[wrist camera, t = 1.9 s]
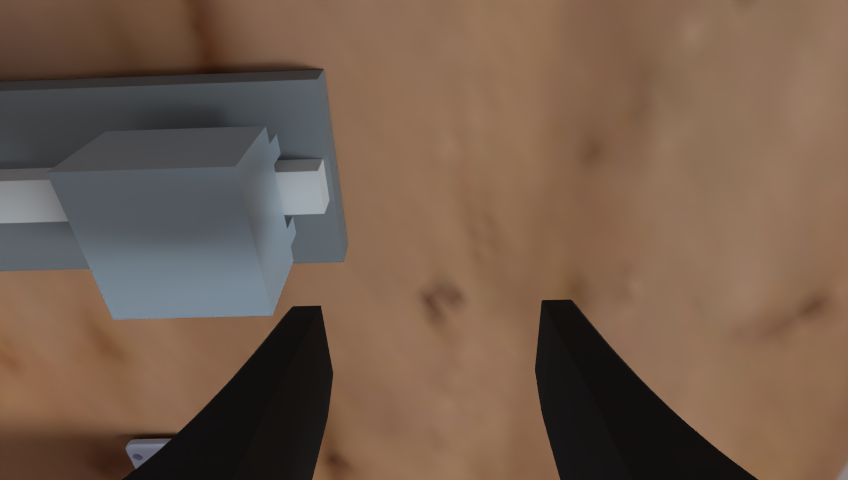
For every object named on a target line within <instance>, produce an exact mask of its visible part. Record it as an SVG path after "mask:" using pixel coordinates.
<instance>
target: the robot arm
mask: <svg viewBox="0 0 848 480" xmlns="http://www.w3.org/2000/svg"><path fill="white" fill-rule="evenodd" d="M535 373H536V379H537V386H538V393H539V399H540V405H541V411H542V415H543V419H544V423H545V427H546V430H547V434H548V437H549V441H550V445H551V448H552V452H553V455H554V459H555V462H556V466H557V469H558V473H559V476H560V480H758V479H756V478H755V477H754V476H752V475H751V474H750V473H748V472H747V471H746V470H744V469H743V468H741V467H740V466H739V465H737V464H736V463H735V462H733V461H732V460H731V459H729V458H728V457H727V456H726V455H724V454H723V453H722V452H720V451H719V450H718V449H717V448H715V447H714V446H713V445H712V444H711V443H709V442H708V441H707V440H706V439H705V438H703V437H702V436H701V435H700V434H699V433H697V432H696V431H695V430H694V429H693V428H692V427H690V426H689V425H688V424H687V423H686V422H685V421H684V420H682V419H681V418H680V417H679V416H678V415H677V414H676V413H675V412H674V411H673V410H672V409H670V408H669V407H668V406H667V405H666V404H665V403H664V402H663V401H662V400H661V399H660V398H659V397H658V396H657V395H656V394H655V393H654V392H653V391H652V390H651V389H650V388H649V387H648V386H647V385H646V384H645V383H644V382H643V381H642V380H641V379H640V378H639V377H638V376H637V375H636V374H635V373H634V372H633V371H632V369H631V368H630V367H629V366H628V365H627V364H626V363H625V362H624V361H623V360H622V359H621V358H620V356H619V355H618V354H617V353H616V352H615V351H614V350H613V349H612V348H611V346H610V345H609V344H608V343H607V342H606V341H605V339H604V338H603V337H602V336H601V335H600V334H599V332H598V331H597V330H596V329H595V328H594V326H593V325H592V324H591V323H590V322H589V320H588V319H587V318H586V317H585V315H584V314H583V313H582V312H581V310H580V309H579V308H578V307H577V305H576V304H575V303H574V302H573V301H572V300H542V304H541V315H540V325H539V335H538V345H537V355H536V365H535ZM332 380H333V370H332V364H331V359H330V354H329V348H328V343H327V337H326V332H325V326H324V321H323V315H322V310H321V306H293V307H292V308H291V309H290V310H289V311H288V312H287V313H286V315H285V316H284V317H283V318H282V319H281V321H280V322H279V323H278V324H277V326H276V327H275V328H274V329H273V331H272V332H271V333H270V334H269V336H268V337H267V338H266V339H265V340H264V342H263V343H262V344H261V345H260V347H259V348H258V349H257V350H256V351H255V353H254V354H253V355H252V356H251V357H250V358H249V359H248V361H247V362H246V363H245V364H244V365H243V366H242V368H241V369H240V370H239V371H238V372H237V373H236V374H235V376H234V377H233V378H232V379H231V380H230V381H229V382H228V383H227V384H226V385H225V386H224V387H223V389H222V390H221V391H220V392H219V393H218V394H217V395H216V396H215V397H214V398H213V399H212V400H211V401H210V402H209V403H208V404H207V405H206V406H205V407H204V408H203V409H202V410H201V411H200V412H199V413H198V414H197V415H196V416H195V417H194V418H193V419H192V420H191V421H190V422H189V423H188V424H187V425H186V426H185V427H184V428H183V429H182V430H181V431H180V432H179V433H178V434H176V435H175V436H174V437H173V438H172V439H133V440H130V441H129V442H128V444H127V446H126V448H125V449H126V452H127V453H128V455H129V457H130V459H131V461H132V463H133V465H134V467H135V470H134V471H133V472H131V473H130V474H129V475H128V476H126V477H125V478H124V479H123V480H312V478H313V474H314V470H315V466H316V462H317V458H318V454H319V450H320V446H321V442H322V438H323V434H324V430H325V426H326V422H327V418H328V411H329V404H330V396H331V388H332Z"/></svg>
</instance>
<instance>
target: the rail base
mask: <svg viewBox="0 0 848 480" xmlns="http://www.w3.org/2000/svg"><path fill="white" fill-rule="evenodd" d="M246 126H266V129H267V134H277V138H278V143H279V148H280V153H281V154H280V156H279V157H278V159H277V161H276V162H275V164H274V168H275V173H276V178H277V183H278V187H279V192H280V197H281V202H282V207H283V212H284V217H288V216H293V220H294V225H295V230H296V235H295V237H294V240H293V242H292V244H291V251H292V255H293V260H294V261H293V263H322V262H344V259H345V255H346V251H347V247H348V242H347V235H346V227H345V220H344V213H343V206H342V198H341V191H340V184H339V176H338V169H337V162H336V155H335V147H334V140H333V133H332V126H331V118H330V111H329V104H328V96H327V89H326V82H325V75H324V69H323V70H296V71H270V72H244V73H217V74H191V75H164V76H138V77H112V78H85V79H59V80H32V81H6V82H0V271H26V270H63V269H90V267H89V265H88V263H87V261H86V259H85V256H84V254H83V252H82V250H81V248H80V245H79V243H78V241H77V239H76V237H75V234H74V232H73V230H72V228H71V226H70V224H69V221H68V219H67V217H66V215H65V213H64V210H63V208H62V206H61V204H60V202H59V199H58V197H57V195H56V193H55V191H54V188H53V186H52V184H51V182H50V180H49V178H48V175H47V173H46V172H48V171H49V170H51V169H52V168H54V167H55V166H57V165H58V164H59V163H61V162H62V161H64V160H65V159H67V158H68V157H69V156H71V155H72V154H74V153H75V152H77V151H78V150H80V149H81V148H82V147H84V146H85V145H87V144H88V143H90V142H91V141H92V140H94V139H95V138H97V137H98V136H100V135H101V134H103V133H104V132H105V131H131V130H160V129H188V128H217V127H246Z"/></svg>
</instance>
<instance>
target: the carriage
mask: <svg viewBox="0 0 848 480" xmlns="http://www.w3.org/2000/svg"><path fill="white" fill-rule="evenodd" d="M280 154H281V153H280V148H279V143H278V138H277V134H267V129H266V126H246V127H217V128H188V129H160V130H131V131H105V132H104V133H103V134H101V135H100V136H98V137H97V138H95V139H94V140H92V141H91V142H90V143H88V144H87V145H85V146H84V147H82V148H81V149H80V150H78V151H77V152H75V153H74V154H72V155H71V156H69V157H68V158H67V159H65V160H64V161H62V162H61V163H59V164H58V165H57V166H55V167H54V168H52V169H51V170H49V171H48V172H46V173H47V175H48V178H49V180H50V182H51V184H52V186H53V188H54V191H55V193H56V195H57V197H58V199H59V202H60V204H61V206H62V208H63V210H64V213H65V215H66V217H67V219H68V221H69V224H70V226H71V228H72V230H73V232H74V234H75V237H76V239H77V241H78V243H79V245H80V248H81V250H82V252H83V254H84V256H85V259H86V261H87V263H88V265H89V267H90V270H91V272H92V274H93V276H94V278H95V281H96V283H97V285H98V287H99V289H100V291H101V294H102V296H103V298H104V300H105V302H106V305H107V307H108V309H109V311H110V313H111V316H112V318H113V319H150V318H191V317H233V316H272V315H273V313H274V310H275V307H276V305H277V302H278V300H279V297H280V294H281V292H282V289H283V287H284V284H285V282H286V279H287V276H288V274H289V271H290V269H291V266H292V263H293V261H294V260H293V255H292V251H291V244H292V242H293V240H294V237H295V235H296V230H295V225H294V220H293V216H288V217H284V212H283V207H282V202H281V197H280V192H279V187H278V183H277V178H276V173H275V168H274V164H275V162H276V161H277V159H278V157H279V156H280Z"/></svg>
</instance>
